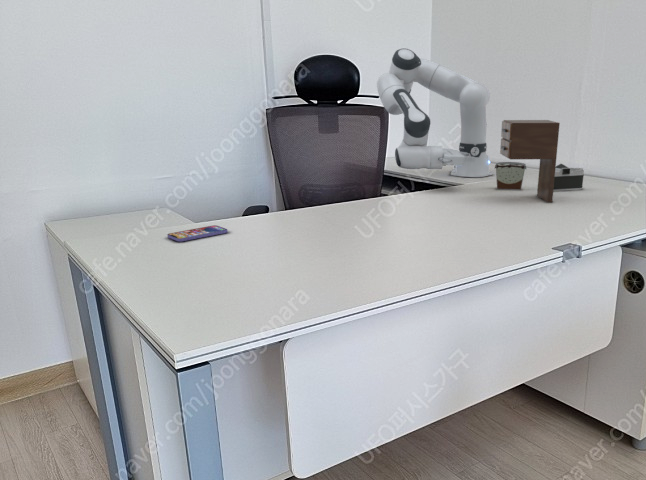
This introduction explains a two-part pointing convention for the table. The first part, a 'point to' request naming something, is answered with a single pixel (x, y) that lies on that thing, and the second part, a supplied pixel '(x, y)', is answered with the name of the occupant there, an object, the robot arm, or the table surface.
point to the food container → (509, 175)
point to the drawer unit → (533, 148)
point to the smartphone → (197, 233)
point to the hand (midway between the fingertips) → (472, 157)
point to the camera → (568, 178)
